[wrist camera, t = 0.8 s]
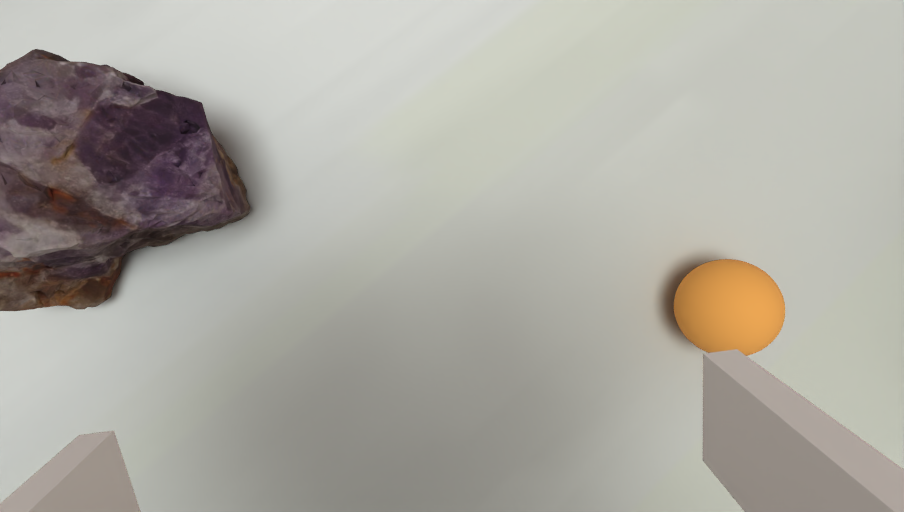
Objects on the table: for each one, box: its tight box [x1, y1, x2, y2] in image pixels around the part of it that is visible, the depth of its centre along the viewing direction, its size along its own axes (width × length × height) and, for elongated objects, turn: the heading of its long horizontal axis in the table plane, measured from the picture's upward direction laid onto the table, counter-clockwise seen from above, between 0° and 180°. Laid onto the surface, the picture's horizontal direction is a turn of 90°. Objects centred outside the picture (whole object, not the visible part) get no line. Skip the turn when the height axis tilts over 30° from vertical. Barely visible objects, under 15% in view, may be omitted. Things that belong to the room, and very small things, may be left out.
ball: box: [674, 259, 785, 356], centre depth 28 cm, size 6×6×6 cm
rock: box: [0, 49, 250, 311], centre depth 23 cm, size 12×9×10 cm
